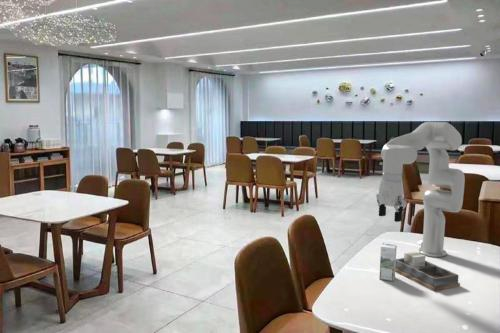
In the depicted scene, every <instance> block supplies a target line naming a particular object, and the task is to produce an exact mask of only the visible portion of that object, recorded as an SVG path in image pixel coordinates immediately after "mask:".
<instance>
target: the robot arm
mask: <svg viewBox="0 0 500 333" xmlns="http://www.w3.org/2000/svg"><path fill="white" fill-rule="evenodd" d="M462 142H463V140H462V135H461V134H460V132H459V131H458V130H457V129H456V127H455V126H453V125H452V124H451V123H449V122H445V121H425V122H423V123H421V124H420V125H419V126H418V127H416V128H415V129H414V130H413V131H411V132H409V133H406V134H403V135H399V136H397V137H394V138H391V139H390V140H389V141H388V142H386V143H385V144H384V145H383V147H382V149H381V152H380V156H381V159H382V160H383V162H382V177H381V180H380V183H379V188H378V193H377V194H376V195H375V196H376V201H377V202H376V203H377V206H378V216H379V217H385V216H387V215H386V214H387V206H389V207H394V210H395V212H394V222H395V223H398V222H399V223H400V222H402V219H403V212H404V211H405V210H406V207H407V205H408V203H407V201H406V200H405V199H404V190H403V188H404V187H403V181H402V180H403V167H404V166H403V165H410V164H413V163H414V162H415V161H417V158H418V151H420V150H423V149H426V150H427V152H428V155H429V166H428V167H429V168H428V179H427V180H428V181H427V182H428V184H429V185H430V186H433V187H437V188H444V189H450V191H449V190H443V189H435V188H434V189H433V188H432V189H431V188H430V189H427V190H426V191H424V193H423V197H422V202H423V212H424V213H423V214H424V215H423V229H422V230H423V233H422V239H420V240H419V241H418V242H417V245H419V246H420V247H419V248H418V253H420V254H422V255H425V257H426V256H427V257H430V258H431V257H433V258H443V257H446V256H447V251H446V250H444V242H445V229H446V227H445V226H446V217H445V214H444V212H450V213H458V212H460V211H461V210H462V207H463V202H464V194H465V182H466V180H465V179H466V178H465V177H466V176H465V173H464V171H463V170H462V169H458V168H453V167H452V168H450V155H449V154H448V151H456V150H459V149H460V148H461V145H462V144H463V143H462Z"/></svg>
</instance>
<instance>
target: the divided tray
mask: <svg viewBox="0 0 500 333" xmlns="http://www.w3.org/2000/svg"><path fill="white" fill-rule="evenodd" d="M403 256H404V257H401V258H396V264H395V273H397V274H398V275H401V276H403V277H404V278H406V279H409V280H411V281H413V282H415V283H417V284H418V285H420V286H422V287H424V288H426V289H427V290H430V291H432V292H437V291H442V290H447V289H453V288H457V287H458V288H459V287H460V286H461V283H460V282H459V276H460V275H459V274H457V273H455V272H452V271H451V270H448V269H445V268H444V267H441V266H439V265H436V264H434V263H432V262H430V261H427V260H426V255H423V254H421V253H420V252H419V251H418V252H417V251H411V252H410V251H409V252H404V255H403Z"/></svg>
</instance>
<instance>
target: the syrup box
mask: <svg viewBox="0 0 500 333" xmlns="http://www.w3.org/2000/svg"><path fill="white" fill-rule="evenodd" d="M397 247H398V246H397V244H395V243H387V242H382V244H381V246H380V257H379V280H382V281H389V282H394V280H395V278H396V272H395V264H396V259H397V258H396V257H397Z"/></svg>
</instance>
